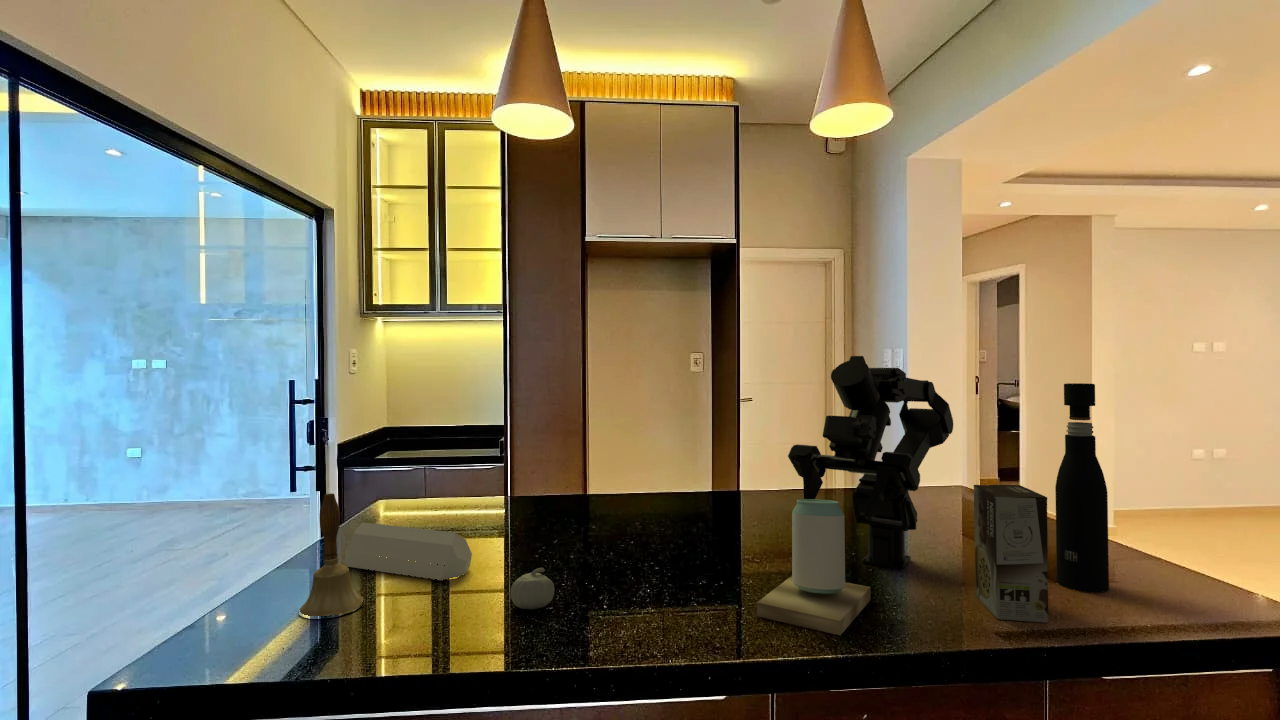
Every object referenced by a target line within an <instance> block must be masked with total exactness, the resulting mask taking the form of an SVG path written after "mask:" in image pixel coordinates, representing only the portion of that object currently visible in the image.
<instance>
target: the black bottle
mask: <svg viewBox="0 0 1280 720" xmlns="http://www.w3.org/2000/svg"><path fill="white" fill-rule="evenodd" d="M1063 406H1069V416H1068V418H1069V420H1070V421H1069V422H1067V425H1066V428H1067V430H1066V434H1065V436H1064V449H1065V450H1064V451H1065V453H1064V455H1063V457H1062V460H1061V463H1060V466H1059V468H1058V472H1057V476H1056V481H1055V486H1054V487H1055V490H1054V491H1055V540H1056V542H1055V544H1056V545H1055V546H1056V547H1055V548H1056V549H1055V551H1056V552H1055V553H1056V554H1055V555H1056V582H1057V583H1058V585H1060V586H1062V587H1064V588H1066V587H1067V589H1069V588H1070V590H1073V589H1075V590H1074V591H1077V590H1078V591H1077V592H1083V591H1084V592H1083V593H1091V592H1093V594H1095V593H1096V594H1097V593H1098V594H1100V593H1101V594H1102V593H1106V592H1108V591H1109V590H1110V572H1109V571H1110V570H1109V569H1110V568H1109V567H1110V566H1109V565H1110V564H1109V561H1110V560H1109V513H1108V511H1109V509H1108V507H1109V506H1108V503H1109V501H1108V498H1109V497H1108V487H1107V484H1106V483H1107V482H1106V480H1105V475H1104V471H1103V470H1102V467H1101V465H1100V462H1099V459H1098V457H1097V455H1096V453H1097V451H1096V449H1097V446H1096V436H1095V435H1093V433H1094V430H1093V429H1094V426H1093V423H1092V422H1084V421H1090V420H1091V419H1092V418H1091V410H1090V409H1091V407H1095V406H1096V384H1095V383H1085V382H1084V383H1081V382H1080V383H1075V382H1073V383H1070V382H1069V383H1063ZM1071 420H1072V421H1071ZM1078 421H1080V422H1078Z"/></svg>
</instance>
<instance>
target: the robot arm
mask: <svg viewBox="0 0 1280 720" xmlns="http://www.w3.org/2000/svg"><path fill="white" fill-rule="evenodd" d="M830 380H831V381H832V384H833V386H834V388H835V390H836V392H837V394H838V396H839V398H840V401H841V403H842V405H843V407H844V408H847V409H848V410H850V413H849V415H826V416H825V418H824V419H825V420H824V425H823V432H822V437H823V438H824V439H827V440H828V441H830V442H829V445H828V447H829V449H830V451H831V452H834V455H830V454H829V455H828V454H827V455H826V454H822V453H821V451H820V450H819V448H818V446H817V445H808V444H793V446H791V448H790V451H789V452H788V455H787V457H788V460H789V461H790V462H791V464H792V466H793V468H794V470H795V472H796V473H797V474H798V476H799V477H800V478H802V481H803V499H817V498H816V497H817V496H818V494H819V492H820V489H821V487H822V486H823V484H824V481H823V478H824V477H825V474H826V472H827V471H826V470H832V471H833V470H835V471H836V470H837V471H843V472H844V471H845V472H849V473H854V474H862V477H860V478H859V479H858V482H859V483H858V484H857V486H856V487H855V488H854V490H853V493H852V505H853V509H854V510H853V511H854V517H855V522H856V524H864V525H867V536H868V537H867V540H868V543H867V544H868V545H867V546H868V552H867V554H866V555H865V556H864V557H862V559H861V563H864V564H870V565H874V566H880V567H881V566H882V567H887V568H893V569H900V570H902V569H904V568H905V567H906V566H907V564H908V563H909V562H911V560H912V559H911V556H909V555H905V553H906V551H905V549H906V547H905V546H906V545H905V538H906V537H905V536H906V535H905V532H908V531H909V530H910V531H912V530H915V531H916V530H917V523H918V511H917V510H916V507H915V505H914V503H913V501H912V498H911V496H910V494H909V492H916V491H917V490H918V489H919V486H920V483H921V474H920V470H919V468H920V466H921V464H922V462H924V459H925V457H926V456H927V454H928V452H929V450H930V449H931V448H933V447H938V446H940V445H943V444H944V443H945V442H946V441H947V439H948V438H949V436H950V435H951V434H953V430H954V417H953V414H952V412H951V408H950V404H949V403H948V402H947V400H945V399H944V398H943V397H942V396H941V395H939V393H938V392H936V389H935V385H934V383H933V381H929V380H926V379H925V380H920V379H916V378H911V377H907V373H906V372H905V371H904V370H902V369H900V367H869V365H868V363H867V362H866V360H865V358H864V356H863V355H850V358H849V360H847V361H845V362H844V361H843V362H842V363H840V364H839V365H838V366H836V367H835V368H834V369H832V371H831V374H830ZM900 402H903V403H902V406H901V409H900V411H899V414H898V415H899V419H900V421H901V424H902V429H903V431H904V434H903V436H902V438H901V439H900V441H899V442H898V443H897V445H896V447H895V449H893V452H892V451H884V452H883V453H882V451H883V443H881V442H882V439H883V436H884V432H885V429H886V427H890V426H891V425H892V420H891V416H890V414H891V410H890V407H889V405H888V403H893V404H895V403H896V404H897V403H900ZM909 402H917V403H920V402H921V403H924V402H925V403H927V404H928V406H929V407H930V408H918V407H914V408H913V407H911V408H909V406H908V403H909ZM878 453H882V455H881V458H880V459H881V460H876V457H877V454H878Z"/></svg>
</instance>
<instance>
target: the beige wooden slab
mask: <svg viewBox="0 0 1280 720" xmlns="http://www.w3.org/2000/svg"><path fill="white" fill-rule="evenodd" d="M870 601H871V586H868V585H867V586H866V585H863V584H856V583H851V582H846V581H845V587H844V588H843V589H841V590H839V592H837V593H831V594H823V593H813V592H807V591H803V590H801V589H799V588H798V586H796V585H795V584H794V583H793V582H792V575H791V576H789V577H788V578H787V579H786V580H784V581H783V582H782V583H781V584H779V585H778V586H777V587H775V588H774V589H773V590H770V592H768V593H767V594H766V595H765V596H764V597H762V598H761V599H760V600H758V601H757V602H756V608H757V609H756V610H757V612H756V617H760V618H763V619H768V620H772V621H777V622H781V623H785V624H789V625H792V626H793V625H794V626H798V627H803V628H807V629H811V630H815V631H820V632H823V633H824V632H825V633H829V634H832V635H837V636H842V634H843V633H844V632H845V631H846V630H847V628H849V626H850V625H851V624H852V622H853V621H854V620H855V619H856V617H858V616H859V614H861V612H862V611H863V610H864V609H865V607H866V606H867V605H868V604H869V603H870Z"/></svg>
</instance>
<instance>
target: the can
mask: <svg viewBox="0 0 1280 720" xmlns="http://www.w3.org/2000/svg"><path fill="white" fill-rule="evenodd" d="M791 520H792V521H791V522H792V523H791V526H792V527H791V530H792V532H791V533H792V535H791V537H792V538H791V540H792V541H791V543H792V544H791V545H792V546H791V547H792V548H791V549H792V550H791V551H792V555H791V556H792V557H791V561H792V562H791V564H792V565H791V569H792V570H791V571H792V574H791V576H792V582H793V583H794V584H795V585H796V586H798V588H799V589H801V590H803V591H807V592H813V593H823V594H831V593H837V592H839V590H841V589H843V588H844V587H845V582H846V551H845V550H846V547H845V546H846V544H845V542H846V539H845V538H846V536H845V534H846V533H845V529H846V528H845V513H844V510H843V509H841V507H840V502H839V501H837V500H828V499H817V498H815V499H804V498H801V499H800V498H799V499H796V505H795V507H793V509H792V512H791Z"/></svg>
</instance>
